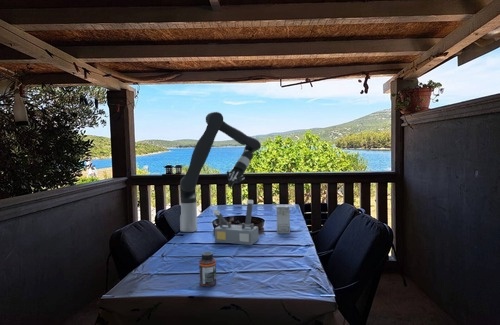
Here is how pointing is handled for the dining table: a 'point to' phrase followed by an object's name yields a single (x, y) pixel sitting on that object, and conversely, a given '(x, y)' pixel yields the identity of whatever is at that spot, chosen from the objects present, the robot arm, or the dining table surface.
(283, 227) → the circuit breaker
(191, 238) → the dining table surface
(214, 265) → the supplement bottle
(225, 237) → the switch box
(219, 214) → the lever with pale knob
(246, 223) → the lever grey
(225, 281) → the dining table surface
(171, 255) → the dining table surface
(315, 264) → the dining table surface
